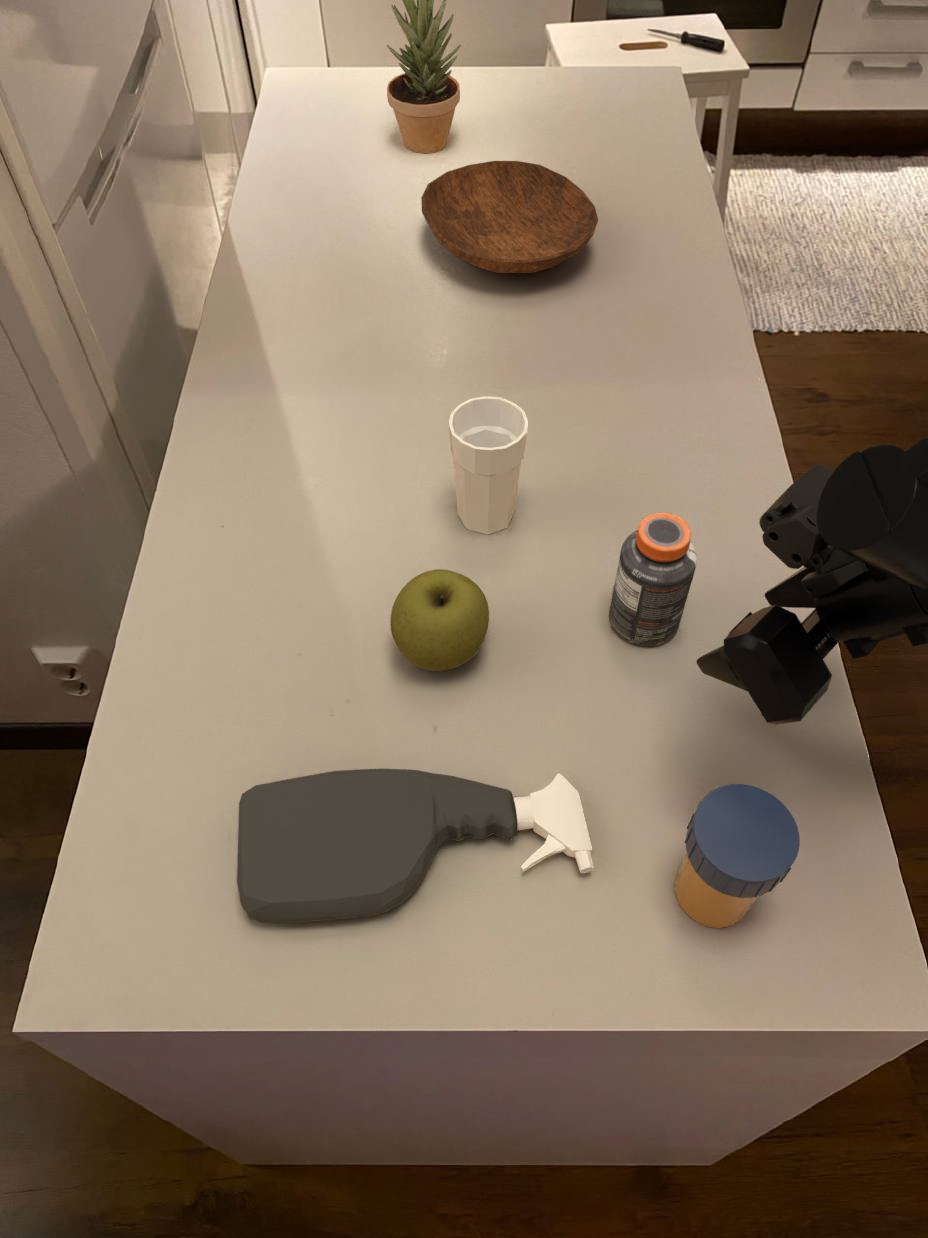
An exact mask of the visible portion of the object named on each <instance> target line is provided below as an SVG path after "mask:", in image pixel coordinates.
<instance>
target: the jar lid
mask: <svg viewBox="0 0 928 1238" xmlns="http://www.w3.org/2000/svg"><path fill="white" fill-rule="evenodd" d="M686 829H687V831H686V833H685V834H686V835H685V840H684V844H685V850H686V854H687V855H688V858H689V861H690V863H691V865H692V867H693V868H694V870H695V872H696V873H697V874H698V875H699V877H700V878H701V879H702V880H703V881H704V882H705V883H707V885H709V886H710V887H712V888H714V889H715V890H717V891H719V892H721V893H722V894H726V895H729V896H733V897H739V898H752V897H755V898H756V899H757V898H758V897H760V896H763V895H765V894H768V893H771V892H772V891H773V890H774V889H775V888H776V887H777V886H778V885H779V884H780V883H783V881H784V879H786V877H787V875H788V874H789V873H790V871H791V870H792V866H793V864H794V863H795V861H796V859H797V857H798V854H799V850H800V845H801V844H800V841H801V840H800V832H799V828H798V824H797V822H796V820H795V818H794V816H793V814H792V813H791V811H790V810H789V809H788V808H787V806H786V805H785V804H784V803H783V802H782V801H781V800H780V799H779V798H777V797H776V796H775V795H773V794H772V793H770V792H769V791H767V790H764V789H762V788H760V787H757V786H754V785H750V784H745V783H731V784H725V785H723V786H719V787H717V788H715V789H713V790H711V791H710V792H708V793H707V794H706V795H705V796H704V797H703V798H702V799H701V800H700V801H699V803H698V804H697V807H696V809H695V811H694V812H693V813H692V815H691V817H690V820H689V822H688V824H687V827H686Z"/></svg>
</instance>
